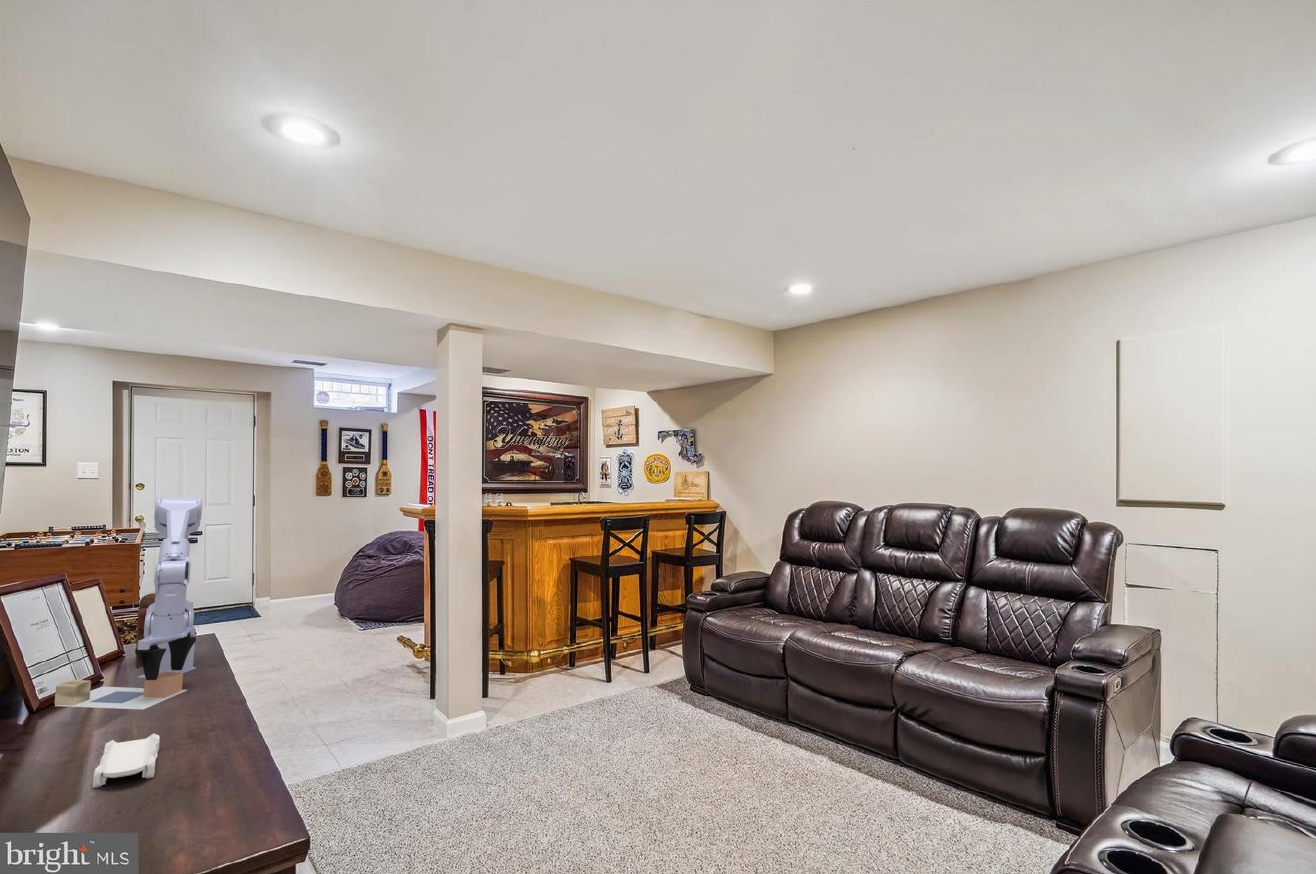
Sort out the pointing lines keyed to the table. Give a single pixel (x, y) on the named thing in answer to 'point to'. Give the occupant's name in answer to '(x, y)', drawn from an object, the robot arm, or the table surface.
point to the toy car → (127, 759)
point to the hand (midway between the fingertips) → (164, 674)
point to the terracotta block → (163, 685)
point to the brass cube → (72, 692)
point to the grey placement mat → (120, 698)
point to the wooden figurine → (143, 620)
